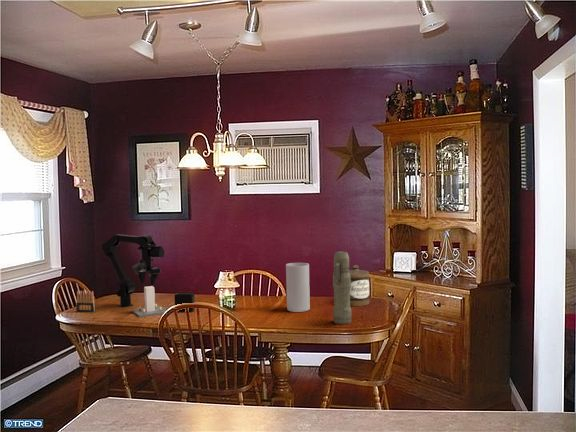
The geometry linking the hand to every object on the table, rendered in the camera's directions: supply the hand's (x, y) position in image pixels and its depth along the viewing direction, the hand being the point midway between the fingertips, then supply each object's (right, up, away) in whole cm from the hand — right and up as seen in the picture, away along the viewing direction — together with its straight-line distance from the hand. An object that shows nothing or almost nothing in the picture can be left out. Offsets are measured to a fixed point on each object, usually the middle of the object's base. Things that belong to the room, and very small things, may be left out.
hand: (147, 284), depth 330 cm
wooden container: (+119, -11, -1) cm, 120 cm away
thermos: (+107, -14, -43) cm, 116 cm away
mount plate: (+5, -14, -12) cm, 19 cm away
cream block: (+4, -13, -12) cm, 18 cm away
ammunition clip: (-33, -15, -7) cm, 36 cm away
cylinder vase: (+86, -12, -14) cm, 88 cm away
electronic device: (+24, -14, -12) cm, 30 cm away
